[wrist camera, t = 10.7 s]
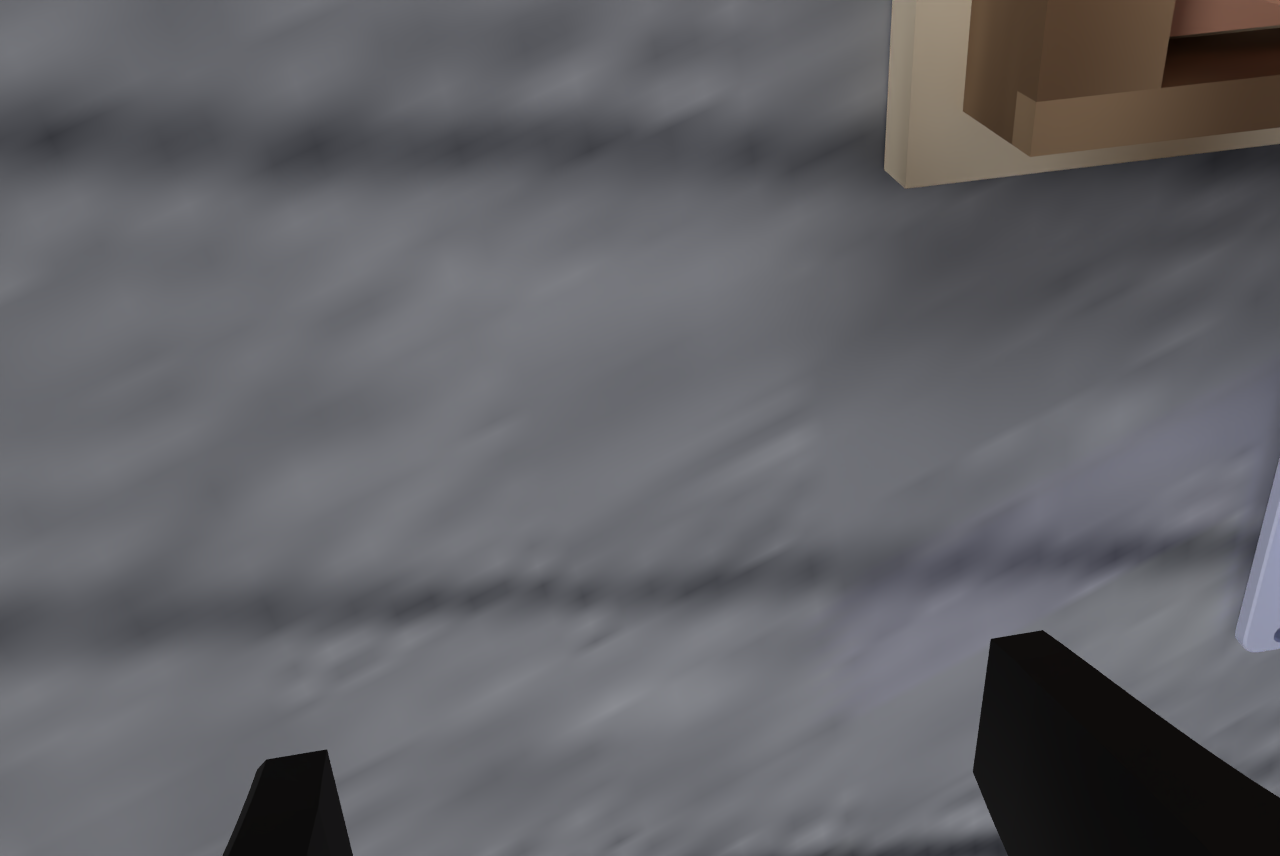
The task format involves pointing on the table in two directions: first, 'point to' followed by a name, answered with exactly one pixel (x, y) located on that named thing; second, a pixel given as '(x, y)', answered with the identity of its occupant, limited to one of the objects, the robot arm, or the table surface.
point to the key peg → (1222, 15)
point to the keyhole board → (973, 142)
